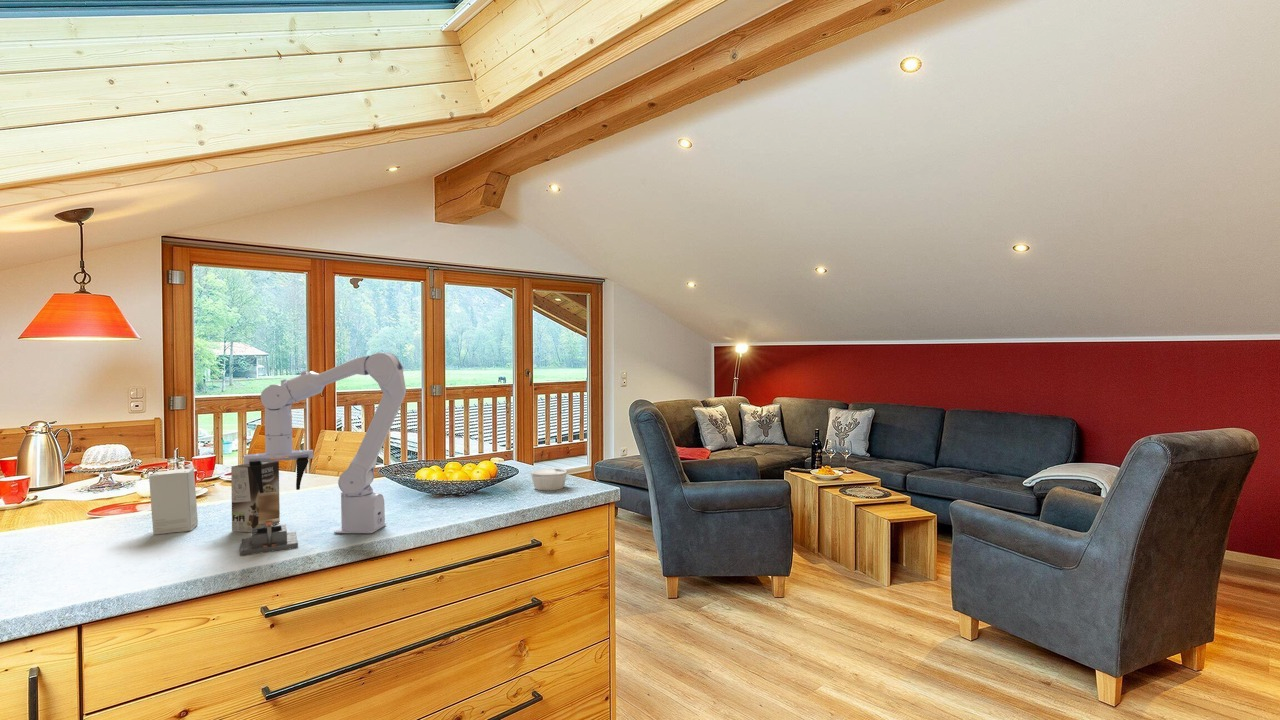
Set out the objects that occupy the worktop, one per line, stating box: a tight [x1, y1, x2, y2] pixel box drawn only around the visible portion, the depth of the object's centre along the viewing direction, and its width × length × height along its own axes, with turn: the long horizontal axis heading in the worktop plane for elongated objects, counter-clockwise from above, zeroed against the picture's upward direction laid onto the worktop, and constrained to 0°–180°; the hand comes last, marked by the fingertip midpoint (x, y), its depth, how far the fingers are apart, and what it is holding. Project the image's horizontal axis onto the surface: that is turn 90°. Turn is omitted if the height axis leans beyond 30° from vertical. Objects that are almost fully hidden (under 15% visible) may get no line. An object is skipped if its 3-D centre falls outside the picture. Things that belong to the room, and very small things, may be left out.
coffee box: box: [230, 461, 281, 533], centre depth 163 cm, size 9×6×16 cm
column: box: [258, 490, 281, 524], centre depth 147 cm, size 4×4×6 cm
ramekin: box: [530, 468, 568, 492], centre depth 206 cm, size 11×11×5 cm
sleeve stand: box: [239, 521, 299, 556], centre depth 147 cm, size 11×11×6 cm
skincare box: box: [148, 467, 199, 535], centre depth 161 cm, size 8×6×15 cm
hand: (279, 490), depth 156 cm, fingers open, 7 cm apart
